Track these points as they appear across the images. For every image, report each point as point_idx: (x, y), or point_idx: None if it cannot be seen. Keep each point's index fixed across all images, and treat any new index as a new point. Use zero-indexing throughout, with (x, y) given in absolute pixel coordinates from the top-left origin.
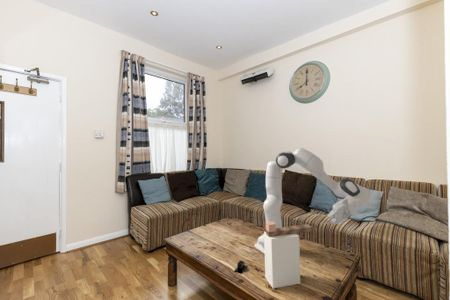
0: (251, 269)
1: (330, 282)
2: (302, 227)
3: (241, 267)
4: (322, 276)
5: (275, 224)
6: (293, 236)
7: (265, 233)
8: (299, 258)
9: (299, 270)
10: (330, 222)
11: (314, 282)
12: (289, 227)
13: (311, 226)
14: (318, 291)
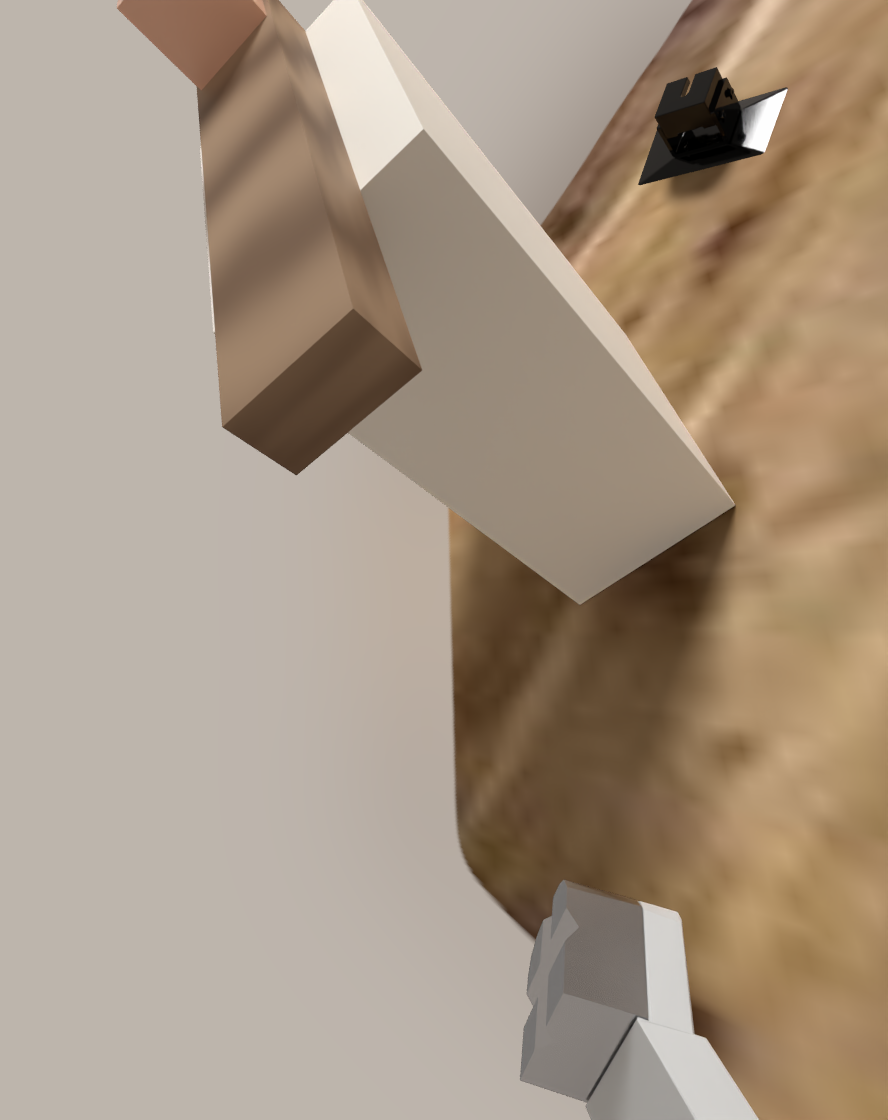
0: (716, 201)
1: None
2: (234, 285)
3: (663, 136)
4: (731, 844)
5: (122, 12)
6: (211, 285)
7: (314, 22)
8: (430, 492)
9: (509, 548)
10: (526, 1032)
11: (608, 732)
12: (265, 135)
13: (243, 407)
14: (495, 751)
